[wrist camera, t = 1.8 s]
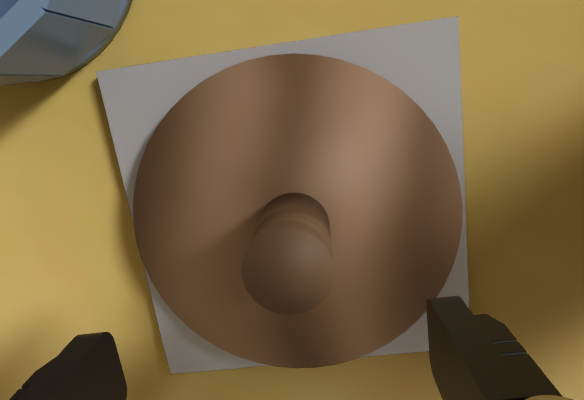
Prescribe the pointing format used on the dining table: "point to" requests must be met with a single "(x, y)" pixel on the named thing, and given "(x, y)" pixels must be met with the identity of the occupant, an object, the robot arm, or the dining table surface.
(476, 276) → the dining table surface
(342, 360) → the lid
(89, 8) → the bowl
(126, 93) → the mat
